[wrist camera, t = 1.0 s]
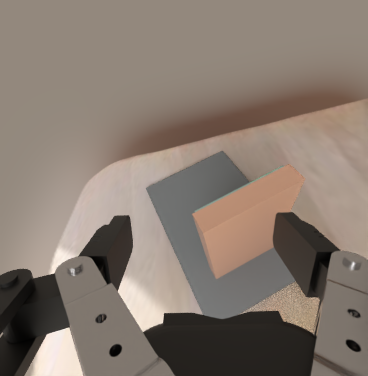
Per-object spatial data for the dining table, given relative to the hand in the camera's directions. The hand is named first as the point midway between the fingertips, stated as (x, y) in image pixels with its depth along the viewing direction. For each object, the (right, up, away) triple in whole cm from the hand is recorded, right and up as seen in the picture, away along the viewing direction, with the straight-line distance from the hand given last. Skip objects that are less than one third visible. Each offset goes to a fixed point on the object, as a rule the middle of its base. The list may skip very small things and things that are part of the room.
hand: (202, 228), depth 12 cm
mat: (+4, -3, +22) cm, 23 cm away
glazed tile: (+7, -7, +18) cm, 21 cm away
